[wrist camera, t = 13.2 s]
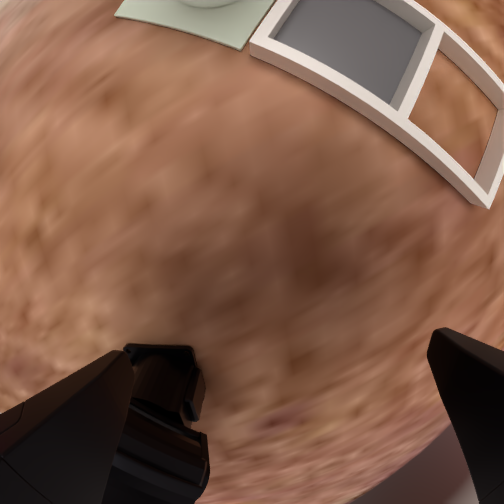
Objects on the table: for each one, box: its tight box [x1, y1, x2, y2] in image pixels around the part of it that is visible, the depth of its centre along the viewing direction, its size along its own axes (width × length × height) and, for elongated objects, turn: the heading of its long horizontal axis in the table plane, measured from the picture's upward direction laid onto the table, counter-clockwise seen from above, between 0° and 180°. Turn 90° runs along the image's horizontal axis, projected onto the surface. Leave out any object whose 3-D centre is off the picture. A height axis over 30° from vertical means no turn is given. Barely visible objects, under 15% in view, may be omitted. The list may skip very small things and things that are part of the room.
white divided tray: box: [114, 0, 504, 209], centre depth 13 cm, size 32×11×2 cm, turn 63°
